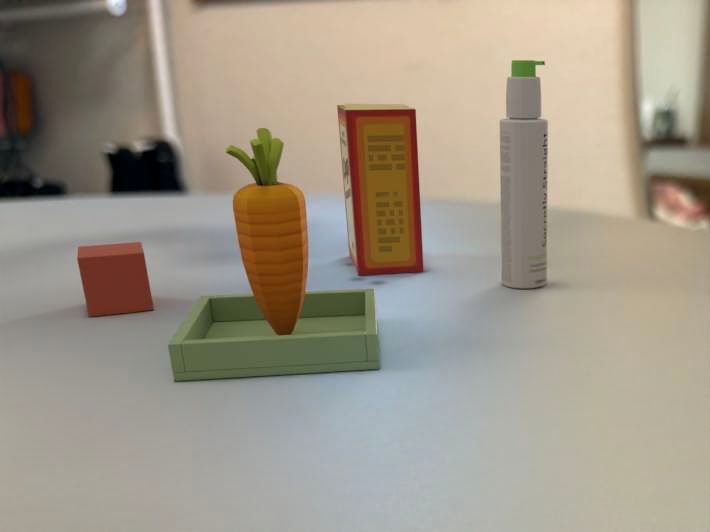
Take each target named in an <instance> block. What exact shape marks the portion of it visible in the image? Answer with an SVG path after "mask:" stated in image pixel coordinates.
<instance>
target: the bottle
mask: <svg viewBox="0 0 710 532" xmlns="http://www.w3.org/2000/svg"><path fill="white" fill-rule="evenodd" d="M545 65H546V61H545V60H532V59H527V60H526V59H513V60H511V68H510V69H511V71H510V72H511V73H510V76H507V77H506V90H505V117H506V118H501V119H499V172H500V174H499V175H500V177H499V178H500V179H499V180H500V182H499V183H500V246H501V247H500V249H501V253H500V255H501V257H500V258H501V284H502V285H503V286H505V287H507V288H513V289H520V290H521V289H522V290H523V289H526V290H527V289H537V288H541V287H544V286H546V284H547V282H548V174H549V173H548V172H549V171H548V169H549V168H548V163H549V162H548V161H549V160H548V158H549V156H548V155H549V153H548V152H549V145H548V143H549V121H548V119H546V118H542V87H541V77H539V76H537V72H536V71H537V69H536V66H545Z"/></svg>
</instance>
